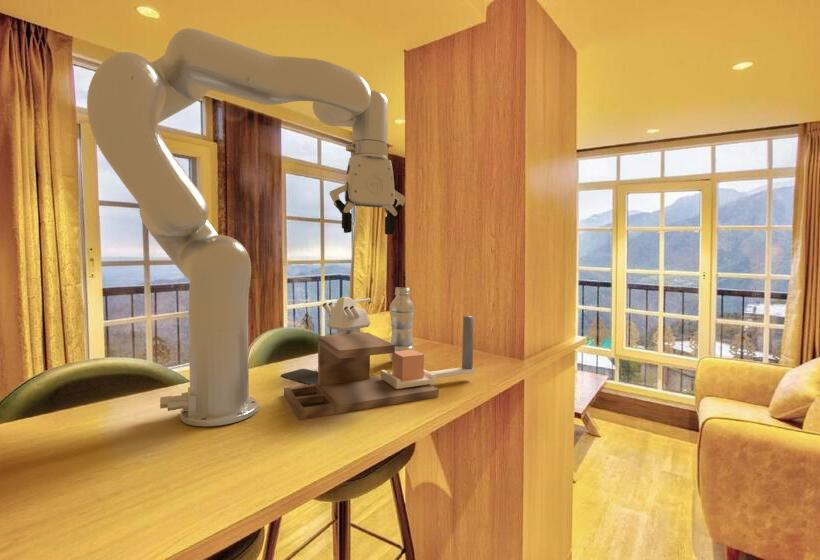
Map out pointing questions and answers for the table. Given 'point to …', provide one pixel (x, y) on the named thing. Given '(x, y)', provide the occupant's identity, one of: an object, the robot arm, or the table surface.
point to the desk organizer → (350, 379)
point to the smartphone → (302, 376)
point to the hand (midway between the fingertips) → (368, 233)
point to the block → (408, 365)
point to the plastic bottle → (402, 320)
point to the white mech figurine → (347, 315)
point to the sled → (430, 376)
